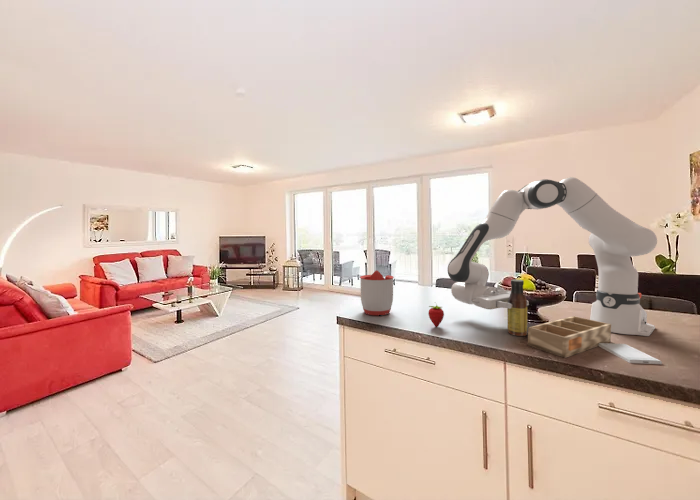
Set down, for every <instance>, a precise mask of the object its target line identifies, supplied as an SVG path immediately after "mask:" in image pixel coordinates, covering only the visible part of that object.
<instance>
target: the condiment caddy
mask: <svg viewBox="0 0 700 500" xmlns="http://www.w3.org/2000/svg"><path fill="white" fill-rule="evenodd" d="M611 336H612V332H611V324H608V323H603V322H599V321H594V320H590V318H586V317H585V318H584V317H581V316H576V315H575V316H574V315H573V316H568V317H564V318H562V319H561V318H560V319H557V320H552V321H548V322H544V323H540V324H537V325H533V326H529V327H528V326H527V346H529V347H532V348H535V349H537V350H541V351H543V352H546V353H549V354H552V355H556V356H557V357H561V358H564V359H566V358H569V357H571V356H575V355H577V354H581V353H583V352H586V351H588V350H591V349H594V348H598V347H599V343H611V338H612V337H611Z"/></svg>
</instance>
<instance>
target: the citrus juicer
mask: <svg viewBox="0 0 700 500" xmlns="http://www.w3.org/2000/svg"><path fill="white" fill-rule="evenodd" d="M359 278H360V301H361V306H362V309H363V312H364V314H366V315H369V316H379V315H383V316H385V315H388V314H390V312H391V309H392V306H393V301H394V276H392V275H385V276H383V275H382V273H381V272H380V271H379V270H374V272H373V273H372V274H365V275H360V276H359Z"/></svg>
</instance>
